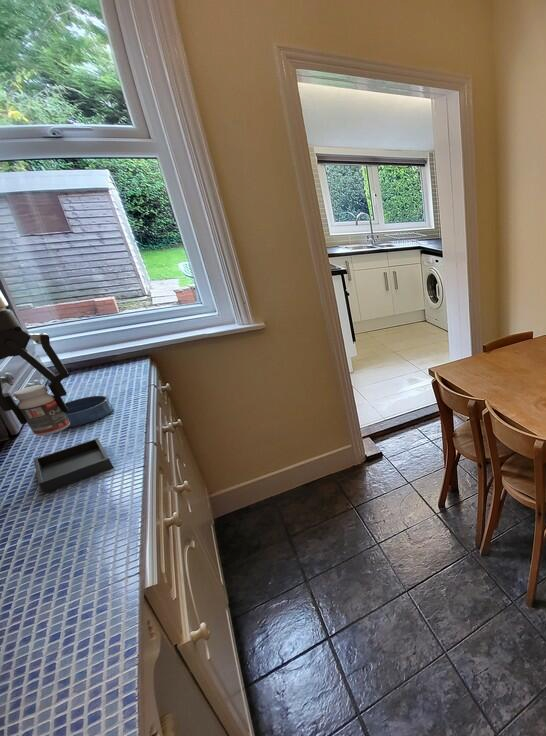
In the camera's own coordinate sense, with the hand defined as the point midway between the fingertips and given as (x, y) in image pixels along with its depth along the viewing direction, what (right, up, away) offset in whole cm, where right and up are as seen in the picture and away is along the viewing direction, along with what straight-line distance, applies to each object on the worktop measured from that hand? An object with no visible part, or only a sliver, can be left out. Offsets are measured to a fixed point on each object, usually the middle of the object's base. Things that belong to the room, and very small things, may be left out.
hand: (45, 415), depth 89 cm
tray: (+1, -13, +6) cm, 14 cm away
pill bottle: (0, -3, +2) cm, 4 cm away
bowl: (-23, -3, +30) cm, 38 cm away
